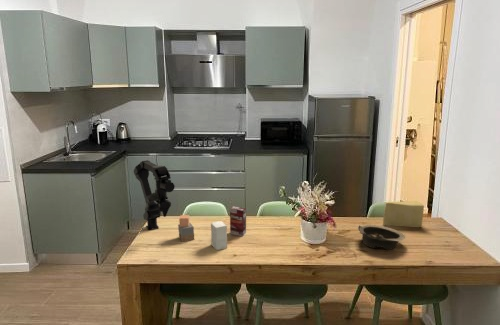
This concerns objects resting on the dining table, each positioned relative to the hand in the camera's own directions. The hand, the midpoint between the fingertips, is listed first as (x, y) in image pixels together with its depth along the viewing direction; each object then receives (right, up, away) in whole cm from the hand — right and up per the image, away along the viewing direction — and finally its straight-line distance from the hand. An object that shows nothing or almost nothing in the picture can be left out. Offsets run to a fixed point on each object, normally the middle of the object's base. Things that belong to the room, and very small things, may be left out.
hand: (162, 214), depth 220 cm
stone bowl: (+123, -15, -9) cm, 124 cm away
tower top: (+14, -10, -3) cm, 17 cm away
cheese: (+144, -9, +16) cm, 146 cm away
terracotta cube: (+13, -6, -3) cm, 15 cm away
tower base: (+14, -14, -2) cm, 20 cm away
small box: (+34, -16, -12) cm, 39 cm away
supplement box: (+43, -12, +4) cm, 45 cm away
